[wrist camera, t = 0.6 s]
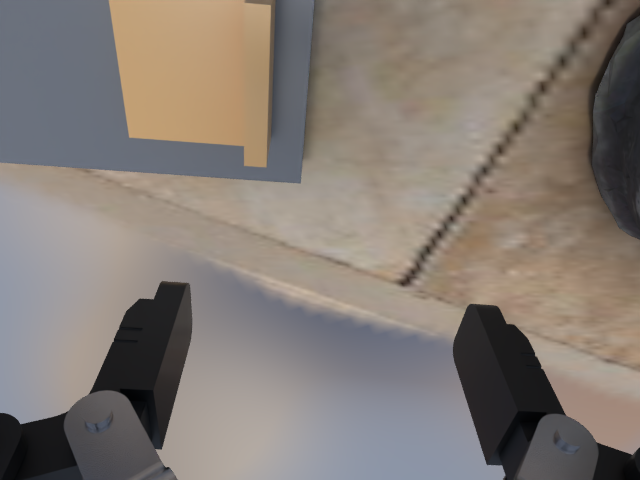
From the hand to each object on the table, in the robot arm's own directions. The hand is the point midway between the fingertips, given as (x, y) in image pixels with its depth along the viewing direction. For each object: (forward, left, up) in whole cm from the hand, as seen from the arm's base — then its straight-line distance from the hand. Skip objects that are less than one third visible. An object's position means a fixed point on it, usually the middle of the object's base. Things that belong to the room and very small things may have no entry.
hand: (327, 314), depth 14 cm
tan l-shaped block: (-2, -7, -17) cm, 19 cm away
